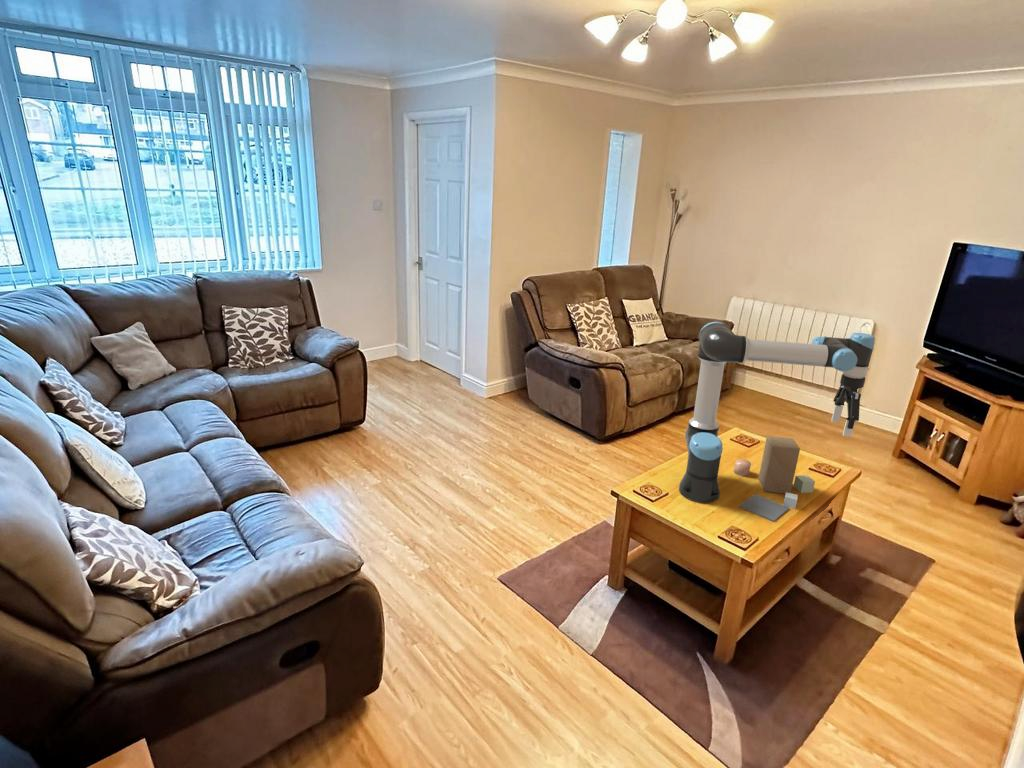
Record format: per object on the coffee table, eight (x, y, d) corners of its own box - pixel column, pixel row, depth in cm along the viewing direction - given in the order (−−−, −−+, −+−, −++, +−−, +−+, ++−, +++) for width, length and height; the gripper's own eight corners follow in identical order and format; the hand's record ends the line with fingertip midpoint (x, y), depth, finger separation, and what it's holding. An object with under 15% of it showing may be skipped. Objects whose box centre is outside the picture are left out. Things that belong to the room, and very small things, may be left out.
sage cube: (800, 493, 214) (803, 481, 213) (793, 486, 219) (795, 475, 217) (812, 492, 215) (815, 481, 213) (804, 486, 220) (807, 475, 218)
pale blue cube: (783, 506, 205) (785, 496, 204) (783, 501, 208) (785, 492, 207) (795, 509, 203) (797, 499, 202) (795, 504, 207) (797, 494, 205)
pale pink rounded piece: (734, 475, 227) (736, 464, 225) (732, 468, 232) (734, 458, 231) (750, 477, 226) (752, 466, 224) (747, 470, 231) (749, 460, 230)
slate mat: (773, 522, 195) (773, 520, 195) (738, 506, 204) (739, 505, 204) (788, 509, 203) (789, 507, 203) (755, 495, 212) (755, 493, 212)
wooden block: (790, 494, 213) (800, 448, 206) (763, 491, 215) (772, 446, 208) (783, 482, 222) (793, 437, 215) (757, 479, 224) (766, 435, 217)
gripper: (878, 387, 186) (863, 443, 193) (853, 366, 209) (841, 417, 216) (854, 385, 188) (840, 440, 195) (832, 364, 210) (820, 415, 218)
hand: (840, 428), depth 205 cm, fingers open, 13 cm apart
